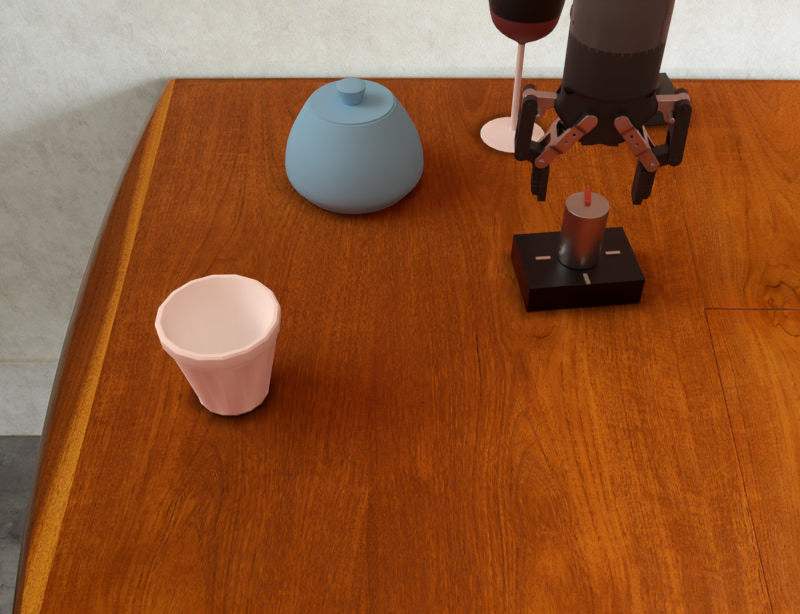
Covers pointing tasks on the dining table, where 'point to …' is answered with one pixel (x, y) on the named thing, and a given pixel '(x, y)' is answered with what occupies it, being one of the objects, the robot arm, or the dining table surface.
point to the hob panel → (575, 273)
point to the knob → (582, 229)
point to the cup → (222, 339)
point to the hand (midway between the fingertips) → (588, 198)
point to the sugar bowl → (353, 148)
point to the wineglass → (519, 56)
